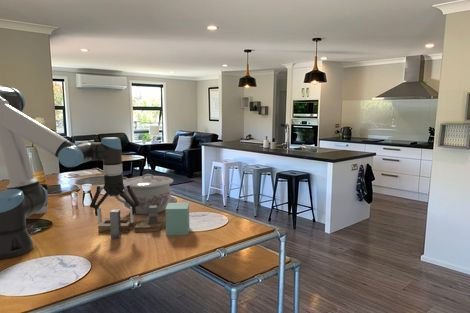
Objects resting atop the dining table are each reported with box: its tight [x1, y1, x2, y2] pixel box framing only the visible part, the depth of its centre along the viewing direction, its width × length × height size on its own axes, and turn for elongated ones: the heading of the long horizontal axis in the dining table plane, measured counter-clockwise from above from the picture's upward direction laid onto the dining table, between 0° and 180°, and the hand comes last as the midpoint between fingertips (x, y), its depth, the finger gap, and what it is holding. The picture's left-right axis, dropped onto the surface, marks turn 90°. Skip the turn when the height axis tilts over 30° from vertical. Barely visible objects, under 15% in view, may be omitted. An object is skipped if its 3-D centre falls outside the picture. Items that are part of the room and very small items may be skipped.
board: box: [134, 206, 164, 233], centre depth 157 cm, size 11×11×10 cm
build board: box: [97, 217, 134, 233], centre depth 157 cm, size 11×13×3 cm
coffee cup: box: [34, 183, 49, 215], centre depth 179 cm, size 8×8×15 cm
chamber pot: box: [113, 173, 174, 216], centre depth 182 cm, size 28×28×21 cm
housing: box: [164, 202, 190, 236], centre depth 152 cm, size 10×10×12 cm
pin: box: [109, 208, 122, 240], centre depth 144 cm, size 3×3×12 cm
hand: (116, 222), depth 144 cm, fingers open, 13 cm apart
